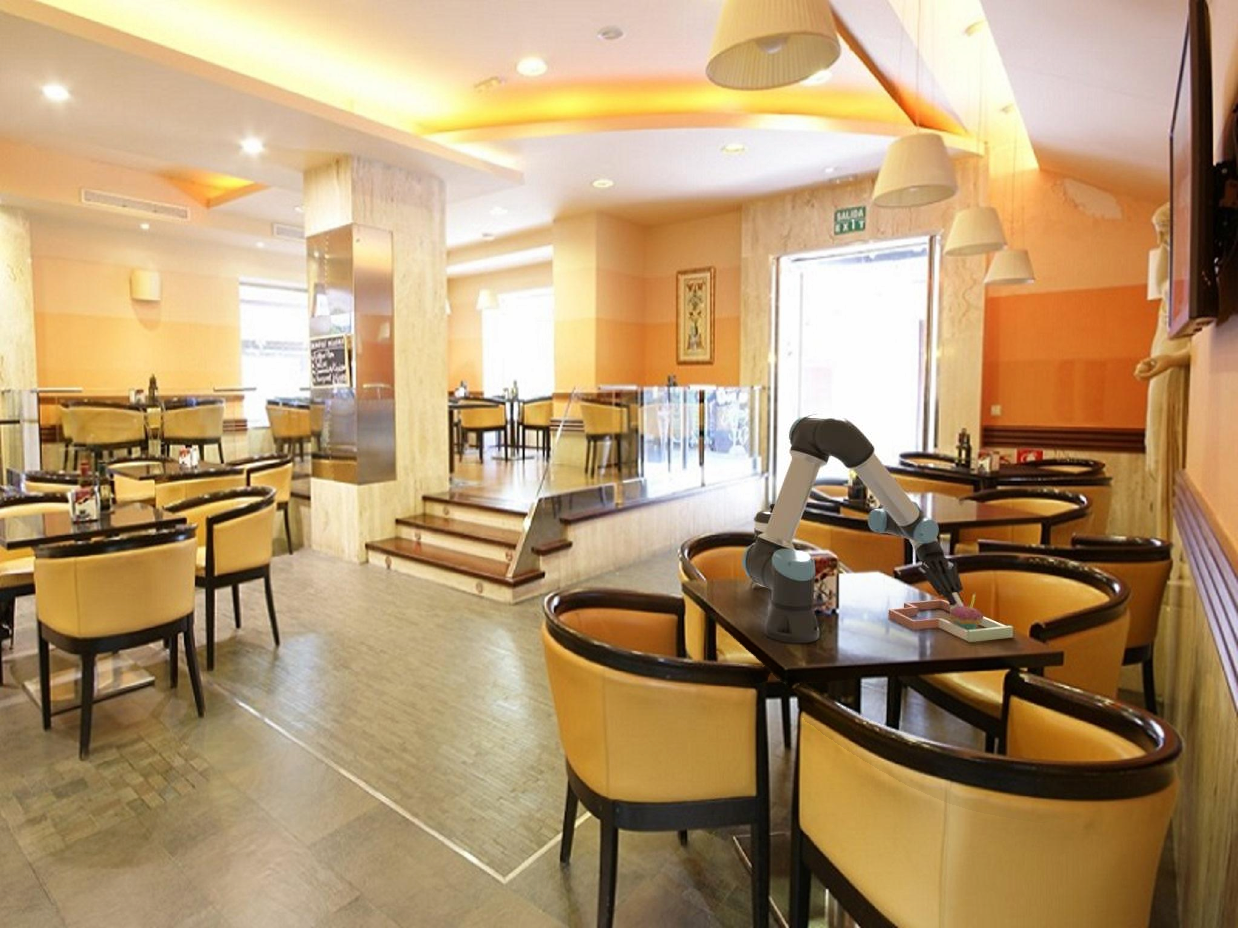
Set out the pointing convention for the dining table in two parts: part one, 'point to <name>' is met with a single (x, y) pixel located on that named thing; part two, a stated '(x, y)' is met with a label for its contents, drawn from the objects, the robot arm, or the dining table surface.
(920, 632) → the dining table surface
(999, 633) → the track
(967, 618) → the cupcake
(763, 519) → the coffee press
